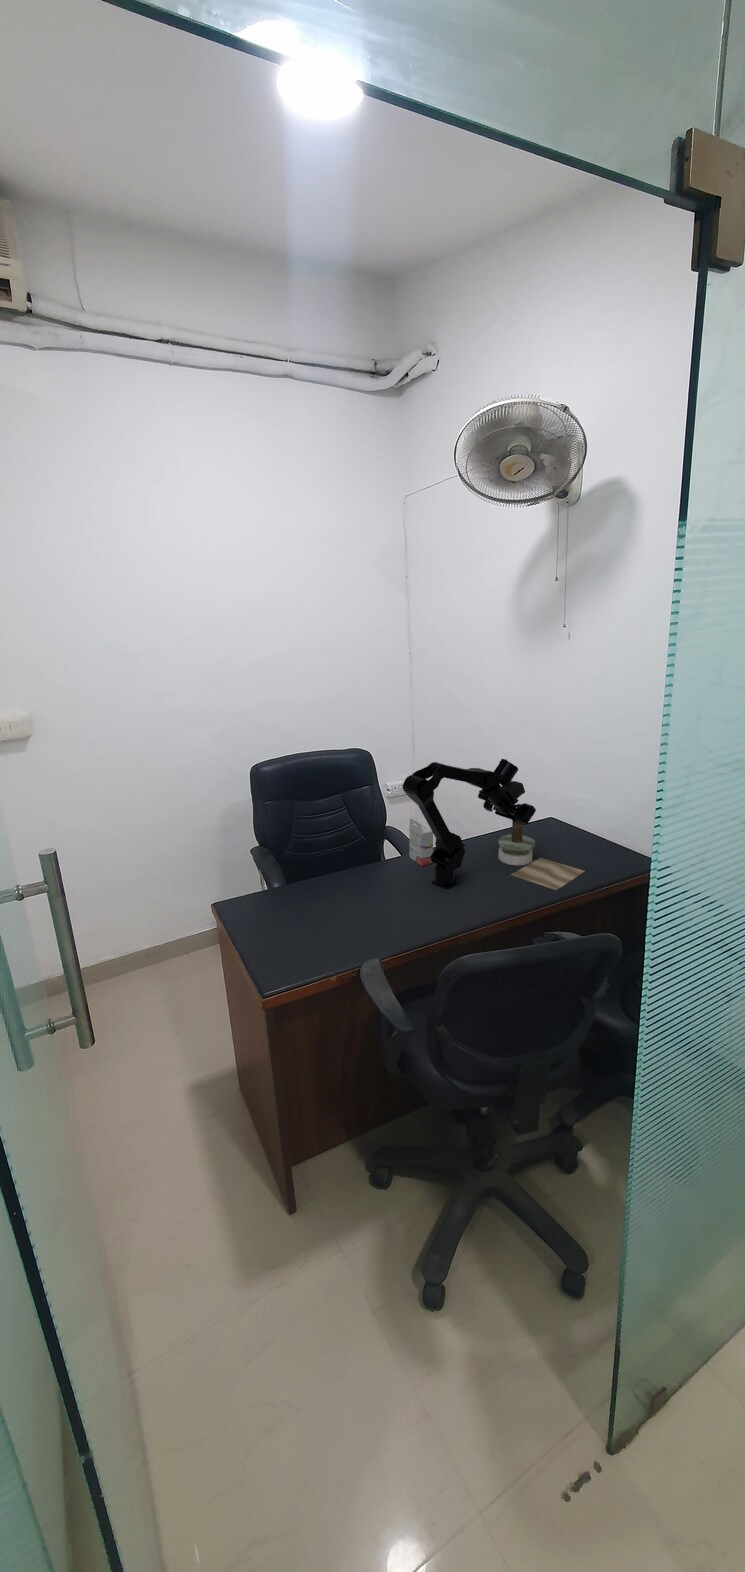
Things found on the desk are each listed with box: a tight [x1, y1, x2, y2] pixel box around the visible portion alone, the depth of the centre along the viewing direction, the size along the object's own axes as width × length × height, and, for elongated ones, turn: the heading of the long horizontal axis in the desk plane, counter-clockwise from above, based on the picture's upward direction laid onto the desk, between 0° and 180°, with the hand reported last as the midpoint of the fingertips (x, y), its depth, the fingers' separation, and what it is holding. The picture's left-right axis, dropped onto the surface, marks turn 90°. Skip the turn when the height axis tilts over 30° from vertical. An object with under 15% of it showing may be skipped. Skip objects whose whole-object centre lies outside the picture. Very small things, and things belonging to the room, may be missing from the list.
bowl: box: [497, 846, 534, 866], centre depth 204 cm, size 11×11×3 cm
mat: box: [510, 857, 586, 891], centre depth 193 cm, size 18×16×1 cm
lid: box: [497, 815, 536, 851], centre depth 201 cm, size 12×12×11 cm
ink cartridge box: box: [408, 817, 434, 867], centre depth 204 cm, size 9×5×15 cm, turn 25°
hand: (520, 821), depth 201 cm, fingers closed on lid, 3 cm apart
